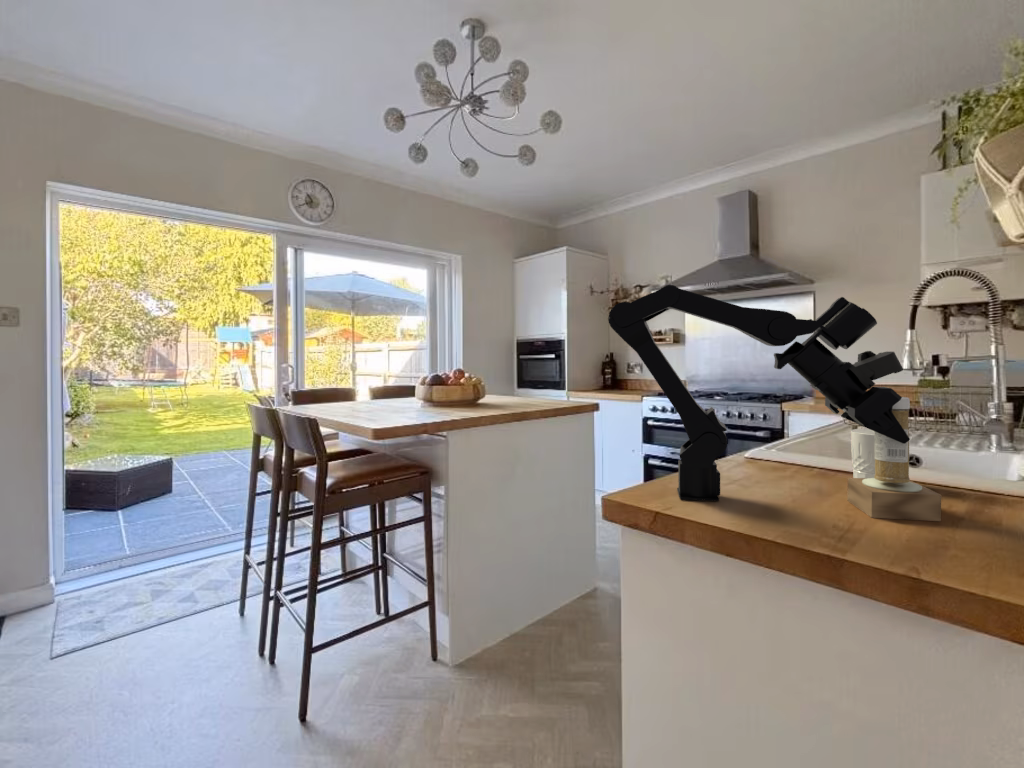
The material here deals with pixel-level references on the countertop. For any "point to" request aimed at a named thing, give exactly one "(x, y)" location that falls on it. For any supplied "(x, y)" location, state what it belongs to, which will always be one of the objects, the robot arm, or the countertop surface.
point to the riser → (894, 499)
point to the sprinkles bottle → (893, 450)
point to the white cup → (863, 453)
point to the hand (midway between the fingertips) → (901, 439)
